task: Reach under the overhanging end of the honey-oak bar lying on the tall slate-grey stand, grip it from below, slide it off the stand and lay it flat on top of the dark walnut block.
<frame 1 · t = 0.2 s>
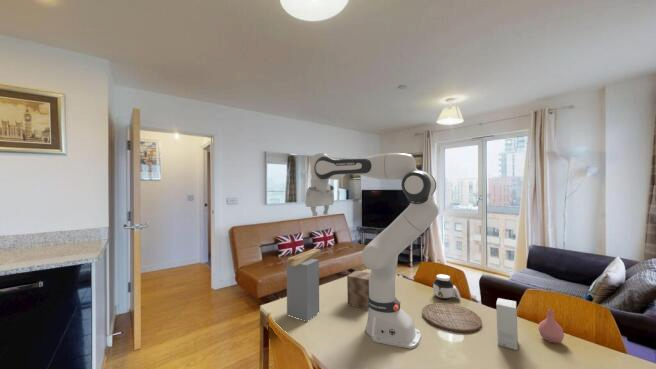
hand: (320, 215, 127), 48 cm above the table, tool pointing down, fingers open, 8 cm apart
walnut block: (362, 303, 137), on the table
trivet: (450, 319, 121), on the table
skincare box: (507, 343, 101), on the table
spread jar: (447, 297, 143), on the table
pink teardrop-shaped piece: (551, 341, 102), on the table
oak bar: (305, 259, 128), point 26 cm above the table, touching tall stand
tall stand: (303, 314, 126), on the table
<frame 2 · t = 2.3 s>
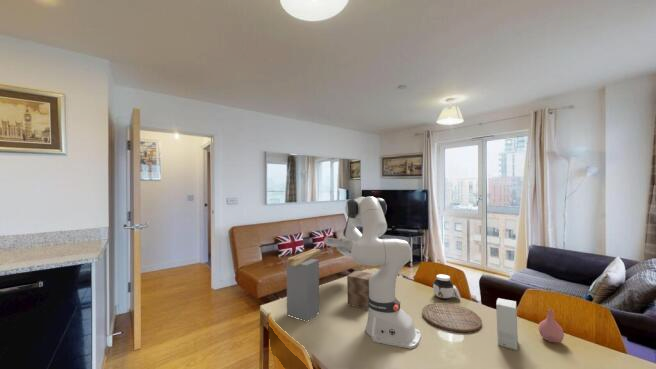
hand: (334, 238, 154), 31 cm above the table, tool pointing upward, fingers open, 8 cm apart
nothing on the table moved.
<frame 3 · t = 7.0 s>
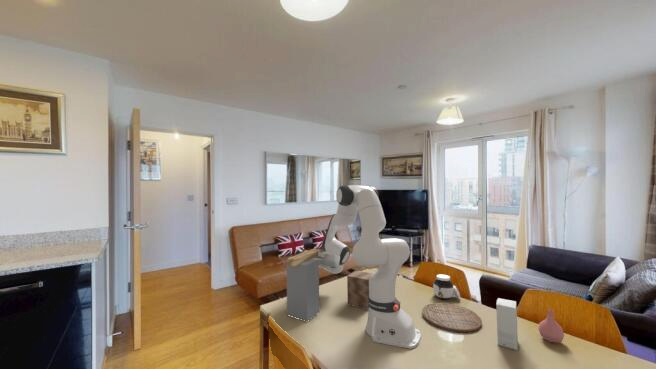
hand: (313, 252, 134), 28 cm above the table, tool pointing upward, fingers closed on oak bar, 4 cm apart
oak bar: (305, 259, 128), point 26 cm above the table, touching gripper, tall stand
everything else where it was.
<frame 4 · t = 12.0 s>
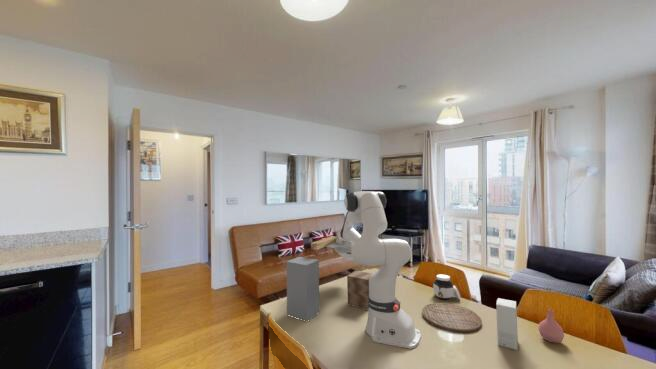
hand: (331, 239, 148), 32 cm above the table, tool pointing upward, fingers closed on oak bar, 4 cm apart
oak bar: (325, 245, 142), point 30 cm above the table, touching gripper
everything else where it was.
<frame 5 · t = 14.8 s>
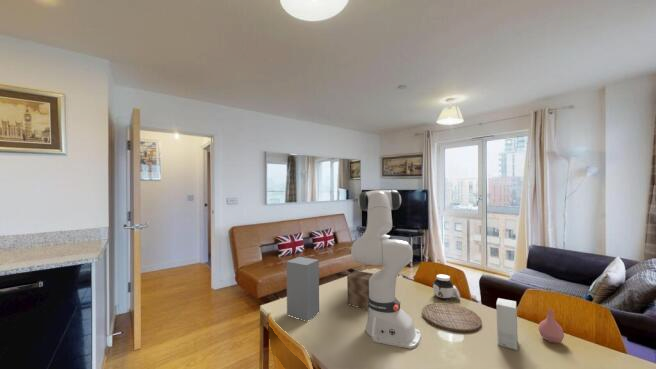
hand: (366, 243, 144), 30 cm above the table, tool pointing upward, fingers closed on oak bar, 4 cm apart
oak bar: (361, 249, 138), point 28 cm above the table, touching gripper
everything else where it was.
when the fingers open (19 cm above the table, at t = 17.1 s): oak bar drops 2 cm, resting on walnut block.
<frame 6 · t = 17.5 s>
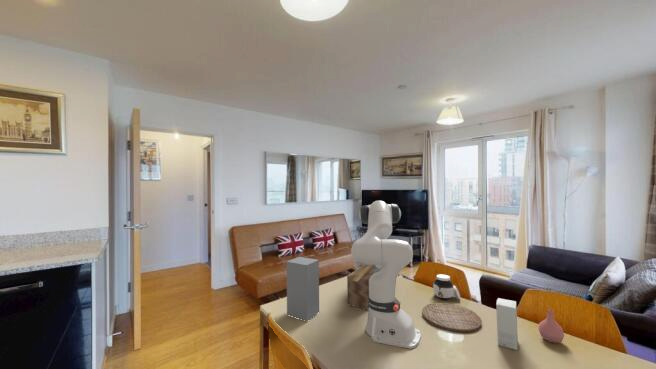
hand: (367, 263, 144), 19 cm above the table, tool pointing upward, fingers open, 8 cm apart
oak bar: (362, 274, 138), point 15 cm above the table, touching walnut block
everything else where it was.
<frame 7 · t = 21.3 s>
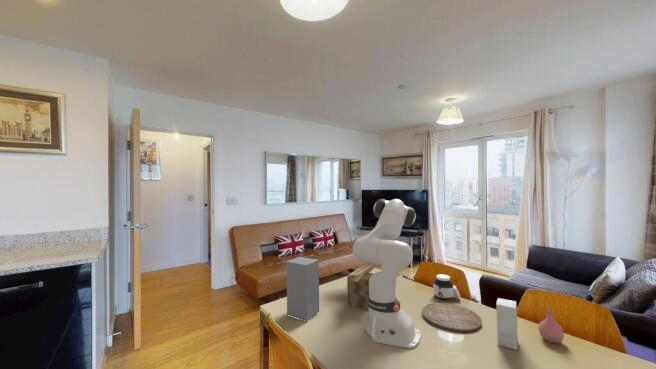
hand: (365, 230, 157), 35 cm above the table, tool pointing upward, fingers open, 8 cm apart
nothing on the table moved.
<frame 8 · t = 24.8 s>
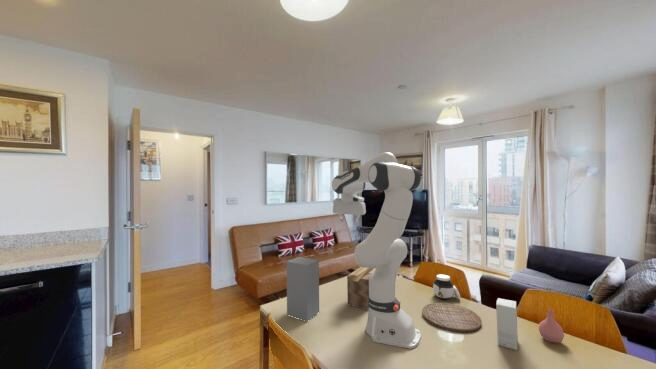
hand: (349, 222, 152), 41 cm above the table, tool pointing down, fingers open, 8 cm apart
nothing on the table moved.
at the end: oak bar inside the target area on the walnut block (0.4 cm from its centre), point 15.0 cm above the walnut block's base; oak bar touching walnut block; the gripper is holding nothing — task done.
